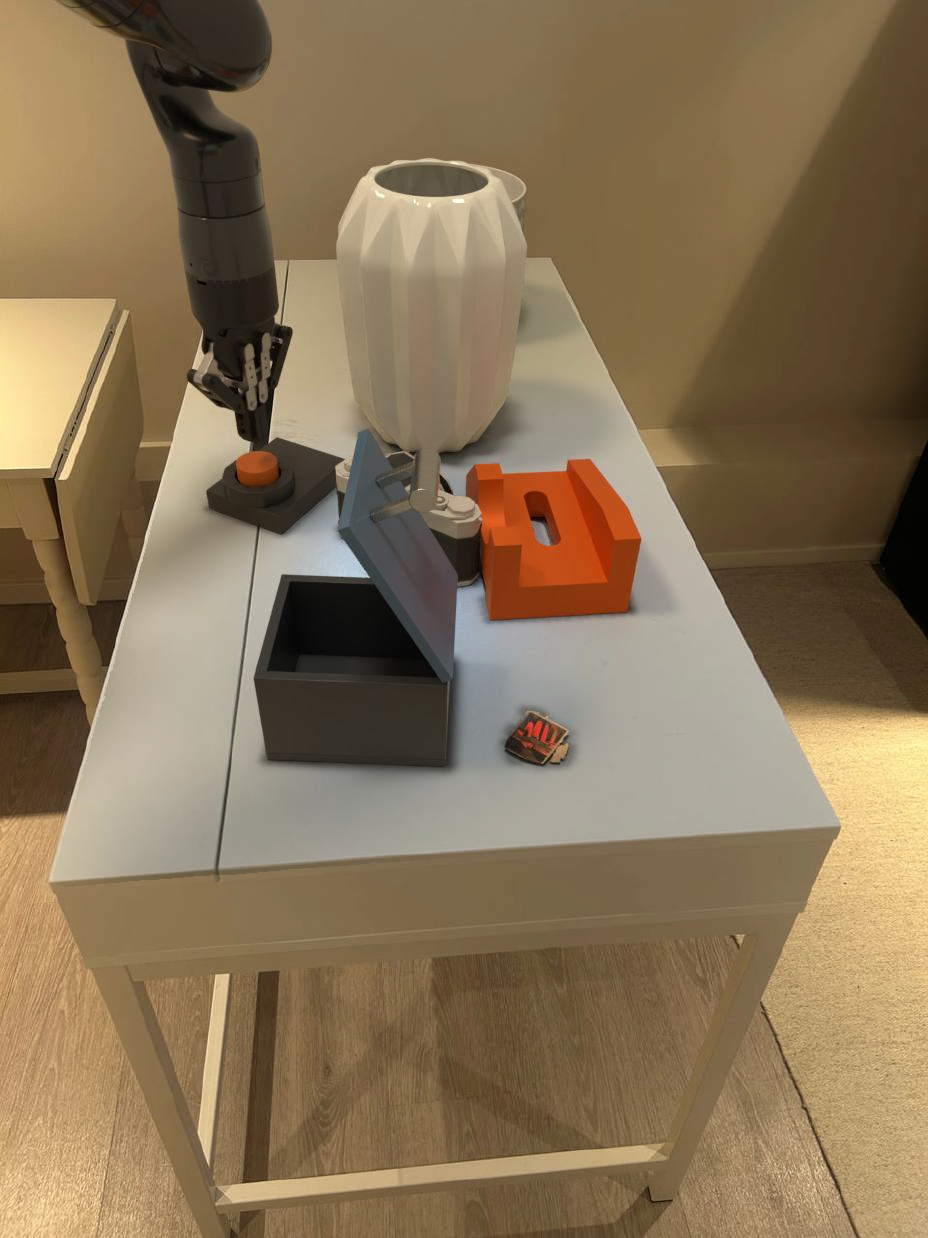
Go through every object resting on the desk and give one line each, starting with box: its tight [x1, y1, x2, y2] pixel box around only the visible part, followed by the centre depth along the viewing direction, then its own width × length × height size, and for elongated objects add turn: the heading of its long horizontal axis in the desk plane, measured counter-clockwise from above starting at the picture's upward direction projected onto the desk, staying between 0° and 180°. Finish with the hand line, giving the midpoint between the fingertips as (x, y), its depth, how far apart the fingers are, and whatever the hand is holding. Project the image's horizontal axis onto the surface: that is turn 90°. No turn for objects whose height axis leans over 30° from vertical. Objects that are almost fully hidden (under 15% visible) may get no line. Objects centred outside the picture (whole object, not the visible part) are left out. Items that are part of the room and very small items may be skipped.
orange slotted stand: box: [464, 458, 642, 621], centre depth 88 cm, size 18×13×8 cm
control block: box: [205, 436, 346, 535], centre depth 96 cm, size 12×9×4 cm
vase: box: [335, 157, 528, 455], centre depth 99 cm, size 20×20×28 cm
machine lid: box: [337, 427, 458, 683], centre depth 64 cm, size 14×12×5 cm
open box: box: [253, 573, 451, 767], centre depth 73 cm, size 14×12×9 cm
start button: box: [236, 450, 279, 486], centre depth 93 cm, size 4×4×2 cm
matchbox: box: [504, 709, 570, 765], centre depth 73 cm, size 5×5×1 cm
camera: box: [335, 450, 483, 588], centre depth 89 cm, size 16×9×10 cm, turn 58°
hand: (253, 438), depth 91 cm, fingers closed
